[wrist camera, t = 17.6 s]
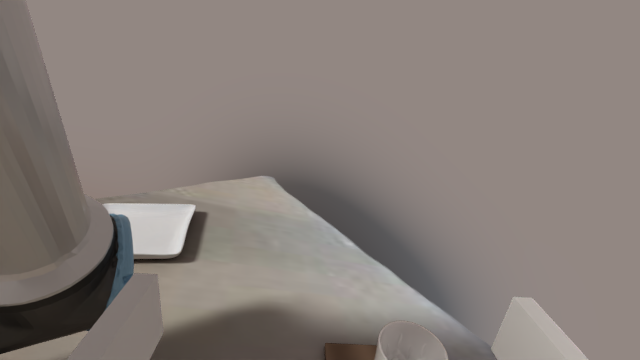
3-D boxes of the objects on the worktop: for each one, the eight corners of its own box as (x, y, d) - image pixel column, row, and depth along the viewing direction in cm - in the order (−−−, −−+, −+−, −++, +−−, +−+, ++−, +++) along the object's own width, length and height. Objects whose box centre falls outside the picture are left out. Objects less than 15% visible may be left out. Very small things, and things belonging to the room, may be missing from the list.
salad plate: (197, 214, 80) (197, 202, 79) (181, 267, 61) (180, 252, 60) (103, 214, 75) (101, 202, 74) (54, 272, 56) (50, 256, 55)
